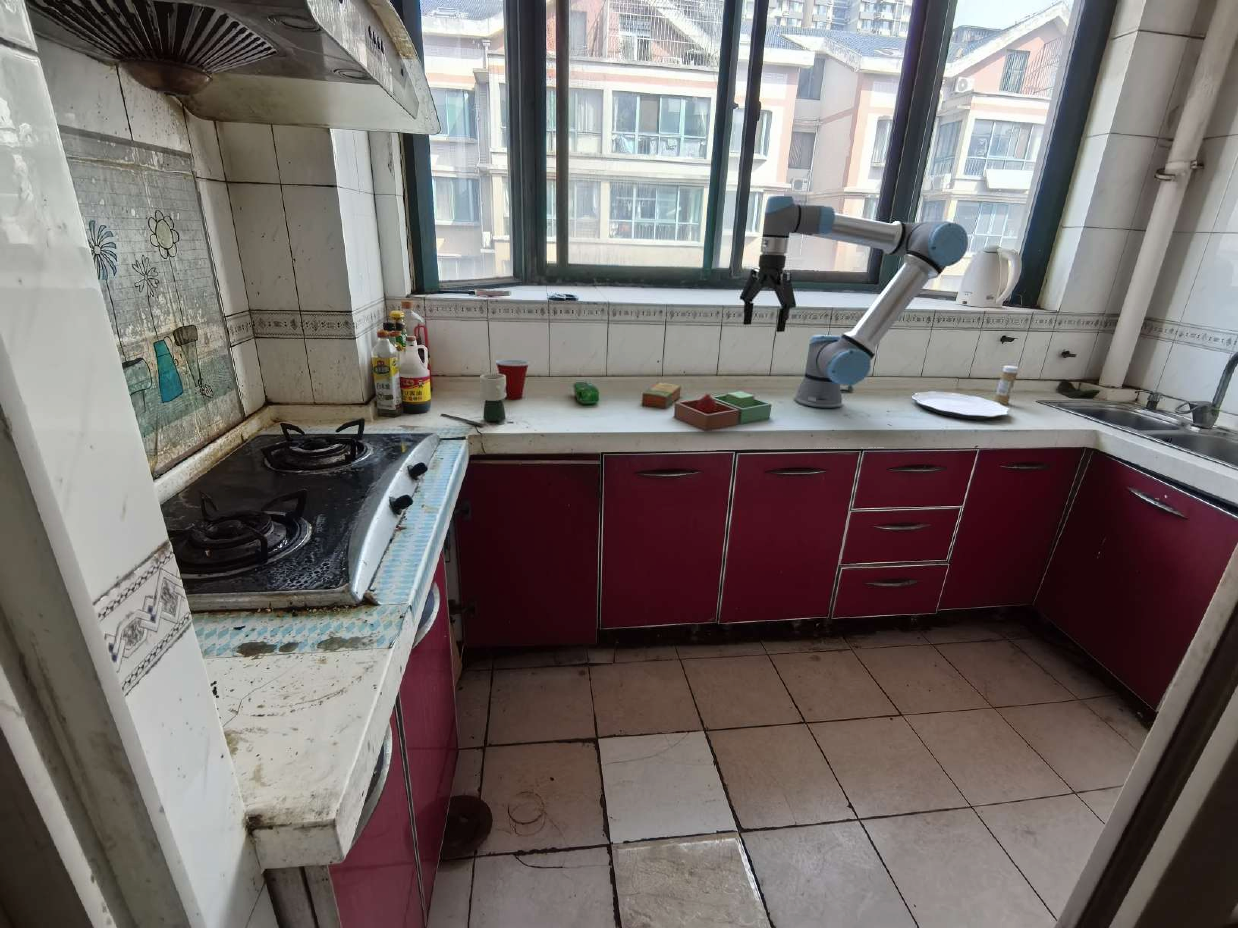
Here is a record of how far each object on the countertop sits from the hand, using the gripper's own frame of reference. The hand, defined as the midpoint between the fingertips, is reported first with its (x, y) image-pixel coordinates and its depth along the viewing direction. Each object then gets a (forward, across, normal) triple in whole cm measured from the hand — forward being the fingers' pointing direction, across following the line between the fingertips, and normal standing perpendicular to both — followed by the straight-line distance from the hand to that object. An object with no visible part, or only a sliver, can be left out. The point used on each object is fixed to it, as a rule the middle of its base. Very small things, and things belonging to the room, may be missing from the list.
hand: (763, 328), depth 180 cm
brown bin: (+27, 0, -20) cm, 33 cm away
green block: (+26, 0, -6) cm, 27 cm away
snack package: (+27, -35, -41) cm, 60 cm away
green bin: (+27, 0, -6) cm, 27 cm away
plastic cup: (+27, -48, -61) cm, 82 cm away
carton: (+27, -23, -19) cm, 40 cm away
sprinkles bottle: (+27, +33, +93) cm, 102 cm away
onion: (+26, 0, -20) cm, 33 cm away
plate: (+27, +30, +69) cm, 80 cm away
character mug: (+27, -28, -76) cm, 85 cm away
